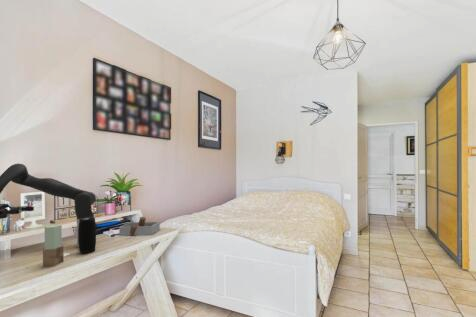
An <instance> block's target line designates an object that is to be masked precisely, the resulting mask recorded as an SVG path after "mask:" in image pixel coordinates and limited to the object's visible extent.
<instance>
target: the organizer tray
mask: <svg viewBox="0 0 476 317" xmlns="http://www.w3.org/2000/svg"><path fill="white" fill-rule="evenodd" d="M135 224H137V225H138V224H139V221H138V222H137V221H133V222H131V221H130V222H128V223H125V224H123V225H120V226H119V228H118V229H119V231H118V232H119V233H118V234H119V236H120V237H121V236H122V237H123V236H132V235H131V234H130V230H131V226H133V225H135ZM160 224H161V222H160V221H145V224H144V226H141V227H137V229H136V231H135V233H134V235H133V236H153V235H154V234H156V233H157V232H158V231H160V229H161V226H160ZM148 225H150V226H148Z"/></svg>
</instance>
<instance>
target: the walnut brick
mask: <svg viewBox="0 0 476 317" xmlns="http://www.w3.org/2000/svg"><path fill="white" fill-rule="evenodd" d="M63 253H64V245H62V246H61V247H59V248H57V249H54V250H45V248H44V249H42V258H43V259H42V267H56V266H58V265H59V264H61V263H64V260H65V257H64V255H63Z"/></svg>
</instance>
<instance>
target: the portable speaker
mask: <svg viewBox="0 0 476 317" xmlns="http://www.w3.org/2000/svg"><path fill="white" fill-rule="evenodd" d="M78 244H79V245H78V246H79V247H78V251H79V253H80V254H82V255H84V254H85V255H86V254H89V253H90V252H95V251H96V245H97V225H96V217H91V216H89V217H85V218H80V221H79V227H78Z"/></svg>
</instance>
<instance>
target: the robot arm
mask: <svg viewBox="0 0 476 317" xmlns="http://www.w3.org/2000/svg"><path fill="white" fill-rule="evenodd" d="M10 182H12V183H13V184H17V185H21V186H23V187H30V188H31V189H34V190H37V191H40V192H43V193H45V194H48V195H50V196H53V197H56V198H57V197H58V198H59V197H60V198H64V199H71V200H73V201H74V212H75V213H74V214H75V216H76V247H77V248H79V246H78V245H79V244H78V227H79V221H80V218H85V217H89V216H91V217H94V216H95V214H94V211H92V206H93V205H94V203H95V202H96V199H97V197H96V195H95V193H93V192H91V191H87V190H83V189H80V188H76V187H74V186H72V185H69V184H67V183H64V182H62V181H59V180H57V179H54V178H51V177H49V178H48V177H46V178H45V177H44V178H40V177H36V176H34V175H31V174H29V171H28V168H27V166H26V165H25V164H23V163H14V164H11V165H10V166H9V167H8V168H6V169H5V170H4V171H3V173H2V174H0V194H2V192H3V191H4V189H5V188H6V186H8V184H9V183H10ZM32 211H35V206H30V205H24V206H23V205H18V206H17V205H16V206H13V205H12V206H10V205H9V204H7V203H0V220H2V219H6V218H8V217H9V216H11V215H18V214H21V213H22V212H32ZM94 218H95V217H94Z"/></svg>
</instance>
